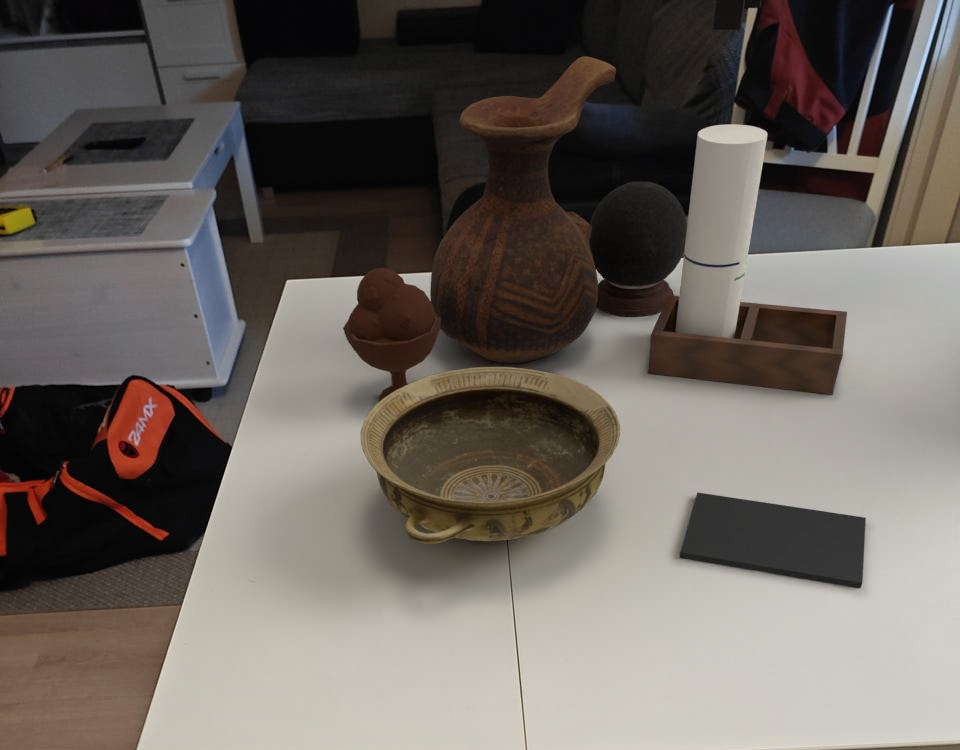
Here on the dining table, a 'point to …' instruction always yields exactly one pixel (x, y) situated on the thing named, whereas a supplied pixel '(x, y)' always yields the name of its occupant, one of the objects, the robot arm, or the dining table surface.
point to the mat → (776, 539)
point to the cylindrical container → (719, 228)
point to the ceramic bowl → (489, 451)
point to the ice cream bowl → (391, 325)
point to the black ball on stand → (636, 247)
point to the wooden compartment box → (755, 348)
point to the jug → (520, 232)
